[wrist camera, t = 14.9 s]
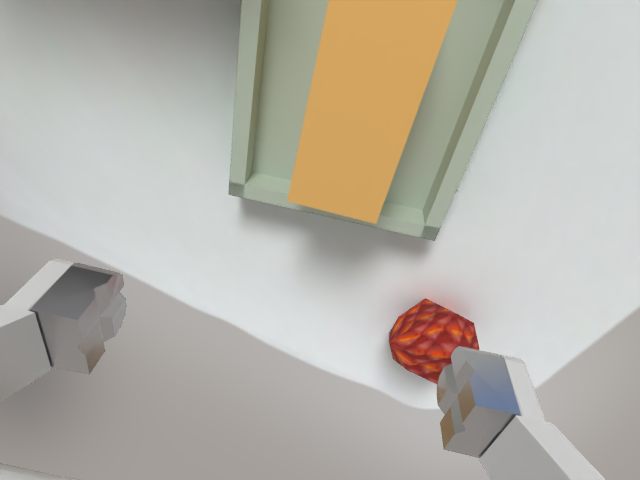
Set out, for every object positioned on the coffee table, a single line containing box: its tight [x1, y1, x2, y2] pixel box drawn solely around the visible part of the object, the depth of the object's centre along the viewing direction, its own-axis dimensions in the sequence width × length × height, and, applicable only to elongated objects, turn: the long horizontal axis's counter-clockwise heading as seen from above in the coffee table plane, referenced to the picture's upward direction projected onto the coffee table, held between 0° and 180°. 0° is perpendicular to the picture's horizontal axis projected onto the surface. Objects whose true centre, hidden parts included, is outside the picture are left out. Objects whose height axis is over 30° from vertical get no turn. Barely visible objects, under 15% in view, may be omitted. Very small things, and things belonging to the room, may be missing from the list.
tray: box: [229, 0, 538, 241], centre depth 24 cm, size 14×18×2 cm
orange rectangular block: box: [287, 0, 458, 224], centre depth 22 cm, size 5×13×6 cm, turn 167°
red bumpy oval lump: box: [389, 299, 479, 384], centre depth 33 cm, size 6×7×8 cm
